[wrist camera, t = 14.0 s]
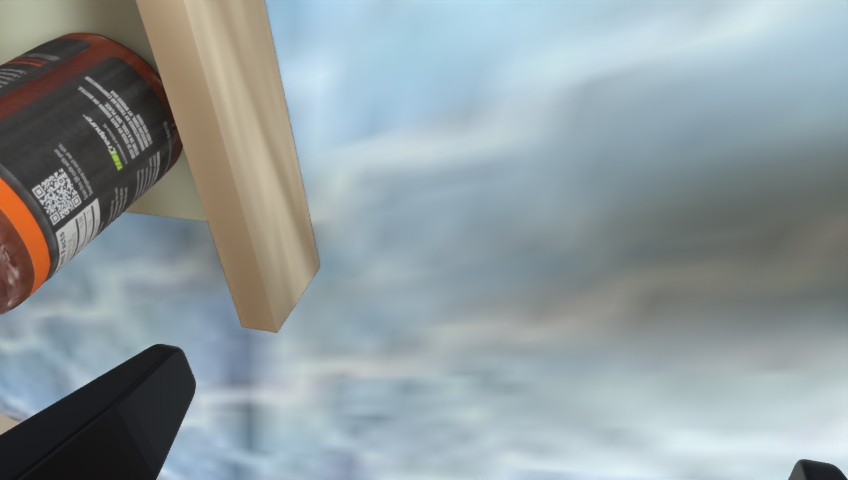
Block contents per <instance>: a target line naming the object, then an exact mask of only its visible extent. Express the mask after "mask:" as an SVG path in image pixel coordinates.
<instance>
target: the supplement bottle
mask: <svg viewBox="0 0 848 480" xmlns="http://www.w3.org/2000/svg"><path fill="white" fill-rule="evenodd" d="M182 148H183V144H182V141H181V138H180V135H179V132H178V129H177V126H176V123H175V120H174V116H173V113H172V110H171V107H170V104H169V101H168V98H167V95H166V92H165V89H164V86H163V83H162V79H161V77H160V76H159V74H158V73H157V72H156V71H155V70H154V69H153V68H152V66H151V65H149V64H148V63H147V62H146V61H145V60H144V59H143V58H142V57H140V56H139V55H138V54H136V53H135V52H133V51H132V50H131V49H129V48H127V47H125V46H124V45H122V44H120V43H118V42H116V41H114V40H112V39H110V38H107V37H105V36H101V35H99V34H91V33H70V34H66V35H63V36H60V37H58V38H56V39H54V40H51V41H48V42H46V43H43V44H41V45H39V46H37V47H35V48H33V49H31V50H29V51H27V52H25V53H24V54H22V55H20V56H17V57H15V58H14V59H12V60H10V61H8V62H6V63H4V64H2V65H0V314H3V313H6V312H8V311H10V310H12V309H13V308H15V307H17V306H18V305H20V304H21V303H22V302H23V301H24V300H26V299H27V298H28V297H29V296H30V295H31V294H32V293H33V292H35V291H36V290H37V289H38V288H39V287H40V286H41V285H42V284H43V283H44V282H45V281H47V280H48V279H49V278H51V277H52V276H53V275H54V274H55V273H56V272H57V271H58V270H59V269H60V268H62V267H63V266H64V265H65V264H66V263H67V262H68V261H69V260H71V259H72V258H73V257H74V256H75V255H76V254H77V253H78V252H79V251H80V250H82V249H83V248H84V247H85V246H86V245H87V244H88V243H89V242H91V241H92V240H93V239H94V238H95V237H96V236H97V235H98V234H100V233H101V232H102V231H103V230H104V229H105V228H106V227H107V226H108V225H109V224H110V223H112V222H113V221H114V220H115V219H116V218H117V217H119V216H120V215H121V214H122V213H123V212H124V211H125V210H126V209H127V208H129V207H130V206H131V205H132V204H133V203H134V202H135V201H136V200H137V199H139V198H140V197H141V196H142V195H143V194H144V193H146V192H147V191H148V190H149V189H150V188H151V187H152V186H153V185H155V184H156V183H157V182H158V181H159V180H160V179H161V178H162V177H163V176H164V175H165V174H166V173H167V172H168V171H169V170H170V169H171V168H172V167H173V166H174V165H175V163H176V162H177V160H178V158H179V157H180V154H181V151H182Z"/></svg>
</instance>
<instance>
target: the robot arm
mask: <svg viewBox="0 0 848 480" xmlns="http://www.w3.org/2000/svg"><path fill="white" fill-rule="evenodd" d="M195 389H196V381H195V378H194V375H193V373H192V371H191V368H190V366H189V363H188V361H187V358H186V356H185V353H184V352H183V350H182V349H181V348H179V347H176V346H170V345H165V344H156V345H153V346H151V347H149V348H148V349H146V350H144V351H142V352H141V353H139V354H137V355H136V356H134V357H132V358H131V359H129V360H127V361H125V362H124V363H122V364H120V365H119V366H117V367H115V368H114V369H112V370H110V371H108V372H107V373H105V374H103V375H102V376H100V377H98V378H97V379H95V380H93V381H91V382H90V383H88V384H86V385H85V386H83V387H81V388H80V389H78V390H76V391H74V392H73V393H71V394H69V395H68V396H66V397H64V398H63V399H61V400H59V401H57V402H56V403H54V404H52V405H51V406H49V407H47V408H46V409H44V410H42V411H40V412H39V413H37V414H35V415H34V416H32V417H30V418H29V419H27V420H25V421H23V422H22V423H20V424H18V425H17V426H15V427H13V428H12V429H10V430H8V431H7V432H5V433H3V434H1V435H0V480H156V479H157V477H158V475H159V473H160V471H161V469H162V466H163V464H164V462H165V460H166V457H167V455H168V453H169V451H170V448H171V446H172V444H173V442H174V439H175V437H176V435H177V433H178V430H179V428H180V426H181V424H182V421H183V419H184V417H185V415H186V412H187V410H188V408H189V405H190V403H191V401H192V399H193V396H194V393H195ZM788 480H848V479H847V478H846V477H845V475H844V474H843V473H842V471H841V470H840V469H839V468H837V467H836V466H834V465H832V464H829V463H824V462H818V461H812V460H807V459H801V460H799V461H798V462H797V463H796V464H795V466H794V468H793V471H792V473H791V475H790V477H789V479H788Z"/></svg>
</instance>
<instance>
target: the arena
mask: <svg viewBox="0 0 848 480" xmlns="http://www.w3.org/2000/svg"><path fill="white" fill-rule="evenodd" d="M70 33H91V34H99V35H101V36H105V37H107V38H110V39H112V40H114V41H116V42H118V43H120V44H122V45H124V46H125V47H127V48H129V49H131V50H132V51H133V52H135V53H136V54H138V55H139V56H140V57H142V58H143V59H144V60H145V61H146V62H147V63H148V64H149V65H151V66H152V68H153V69H154V70H155V71H156V72H157V73H158V74H159V76H160V77H161V79H162V83H163V86H164V89H165V92H166V95H167V98H168V101H169V104H170V107H171V110H172V113H173V116H174V120H175V123H176V126H177V129H178V132H179V135H180V138H181V141H182V144H183V148H182V151H181V154H180V157H179V158H178V160H177V162H176V163H175V165H174V166H173V167H172V168H171V169H170V170H169V171H168V172H167V173H166V174H165V175H164V176H163V177H162V178H161V179H160V180H159V181H158V182H157V183H156V184H155V185H153V186H152V187H151V188H150V189H149V190H148V191H147V192H146V193H144V194H143V195H142V196H141V197H140V198H139V199H137V200H136V201H135V202H134V203H133V204H132V205H131V206H130V207H129V208H127V209H126V210H125V211H124V212H131V213H139V214H148V215H156V216H164V217H173V218H181V219H189V220H198V221H206V222H208V224H209V227H210V231H211V234H212V237H213V240H214V243H215V246H216V249H217V252H218V255H219V258H220V261H221V265H222V268H223V271H224V274H225V277H226V280H227V283H228V286H229V289H230V292H231V295H232V298H233V302H234V305H235V308H236V311H237V314H238V317H239V320H240V323H241V326H242V327H245V328H251V329H257V330H263V331H268V332H274V333H278V331H279V330H280V328H281V327H282V325H283V324H284V322H285V320H286V319H287V317H288V316H289V314H290V313H291V311H292V310H293V308H294V306H295V305H296V303H297V302H298V300H299V299H300V297H301V296H302V294H303V293H304V291H305V289H306V288H307V286H308V285H309V283H310V282H311V280H312V279H313V277H314V276H315V274H316V272H317V271H318V269H319V268H320V264H319V259H318V254H317V249H316V244H315V240H314V235H313V230H312V225H311V220H310V216H309V211H308V206H307V201H306V197H305V192H304V187H303V182H302V177H301V173H300V168H299V163H298V158H297V153H296V149H295V144H294V139H293V134H292V129H291V125H290V120H289V115H288V110H287V105H286V101H285V96H284V91H283V86H282V81H281V77H280V72H279V67H278V62H277V57H276V53H275V48H274V43H273V38H272V34H271V29H270V24H269V19H268V14H267V10H266V5H265V0H0V65H2V64H4V63H6V62H8V61H10V60H12V59H14V58H15V57H17V56H20V55H22V54H24V53H25V52H27V51H29V50H31V49H33V48H35V47H37V46H39V45H41V44H43V43H46V42H48V41H51V40H54V39H56V38H58V37H60V36H63V35H66V34H70Z"/></svg>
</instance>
